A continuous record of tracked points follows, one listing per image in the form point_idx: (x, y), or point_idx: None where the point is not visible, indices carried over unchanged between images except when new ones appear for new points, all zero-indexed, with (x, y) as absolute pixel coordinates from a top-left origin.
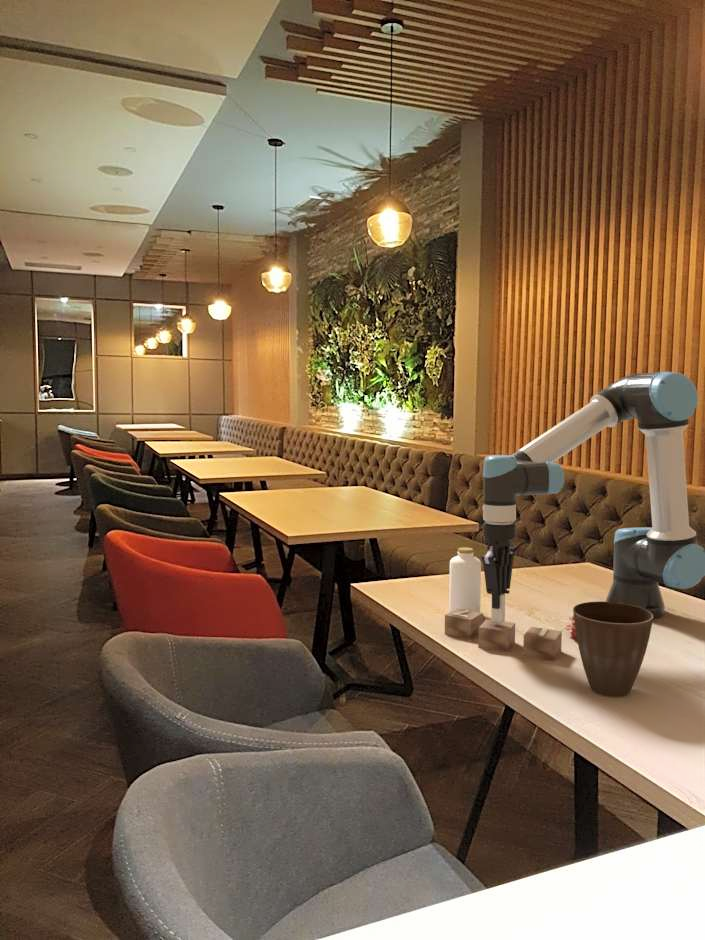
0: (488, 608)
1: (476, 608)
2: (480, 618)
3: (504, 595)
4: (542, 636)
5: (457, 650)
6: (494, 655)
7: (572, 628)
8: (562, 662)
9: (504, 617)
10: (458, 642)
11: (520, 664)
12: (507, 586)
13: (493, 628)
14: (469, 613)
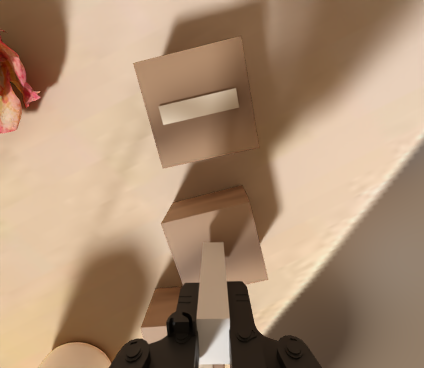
0: (5, 349)
1: (70, 360)
2: (159, 316)
3: (203, 314)
4: (235, 90)
5: (301, 270)
6: (285, 197)
7: (27, 86)
8: (231, 36)
9: (205, 249)
10: (253, 291)
11: (308, 120)
12: (148, 357)
13: (252, 246)
14: None
